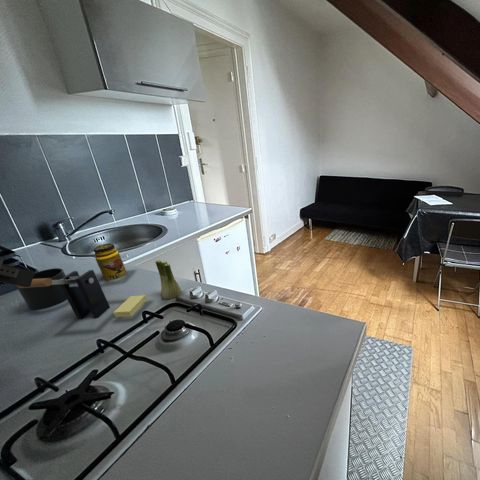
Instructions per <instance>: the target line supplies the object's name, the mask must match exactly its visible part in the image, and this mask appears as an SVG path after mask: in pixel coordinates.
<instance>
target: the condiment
mask: <svg viewBox="0 0 480 480" xmlns="http://www.w3.org/2000/svg"><path fill="white" fill-rule="evenodd" d="M92 250H93V253H94V256H95V258H94V259H95V261H96V263H97V266H98V268H99V270H100V273H101V275H102V278H103V279H104V281H114V280H118V279H121V278H122V277H124V276H126V275H127V273H128V271H127V270H126V267H125V263H124V261H123V260H122V257H121V255H120V253H119V251H118V250H117V248H116V246H115V244H114V243H104V244H100V245H97V246H95V247H94V248H93V249H92Z"/></svg>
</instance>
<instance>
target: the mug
mask: <svg viewBox="0 0 480 480" xmlns="http://www.w3.org/2000/svg"><path fill="white" fill-rule="evenodd" d="M66 275H67V274H65V271H64V270H63V268H60V267H55V268H47V269H44V270H39V271H36V272H35V274H34V277H33V279H42V278H50V279H51V280H59V279H61V278H63V277H64V276H66ZM15 287H16V288H17V290H18V292H19V294H20V296H21V297H22V299H23V300H24V302H25V303H26V306H27V307H28V309H29V310H32V311H40V310H44V309H49V308H52V307H56V306H58V305H59V304H62V303H64V302H66V301H68V300H67V298H66V296H65V294H64V292H63V290H62V288H61V286H60V284H58V285H50V286H44V287H30V288H19V287H17V285H15Z"/></svg>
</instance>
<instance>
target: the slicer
mask: <svg viewBox="0 0 480 480" xmlns="http://www.w3.org/2000/svg"><path fill="white" fill-rule="evenodd" d="M65 275H66V276H64V277H63V278H61V279H59V280H69V277H75V276H80V277H78V278H76V279H75V281H76V283H77V285H78V287H69V284H60V286H61V288H62V290H63V292H64V294H65V296H66V298H67V300H66V301H67V302H68V303H69V305H70V307H71V309H72V311H73V313H74V315H75V317H76V319H77V320H83V319H85V317H86V316H88V315H89V314H90V313H91V316H92V317H93V319H99V318H100V317H101V316H103V314H105V312H107V311H108V310H109V309H110V308H111V306H110V303H109V301H108V299H107V297H106V295H105V292H104V291H103V288H102V286H101V284H100V281H99V280H98V277H97V275H96V273H95V270H94V269H90V270H89V269H88V270H87V271H86V272H84V273H83V274H81V275H80V273H79V272H78V271H77V270H73V271H71V272H69V273H68V274H65Z"/></svg>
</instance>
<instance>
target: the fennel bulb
mask: <svg viewBox="0 0 480 480" xmlns="http://www.w3.org/2000/svg"><path fill="white" fill-rule="evenodd" d="M155 265H156V269H157V271H158V274H159V278H160V286H161V287H160V297H161V299H163V300H165V301H170V300H171V301H172V300H175V299H177V298H179V297H180V296H181V294H182V289H181V287H180V285H179V283H178V282H177V280H176V279H175V277H174V274H173V271H172V267H171V265H170V263H168V262H167V261H162V260H160V259H157V260H155Z"/></svg>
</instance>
